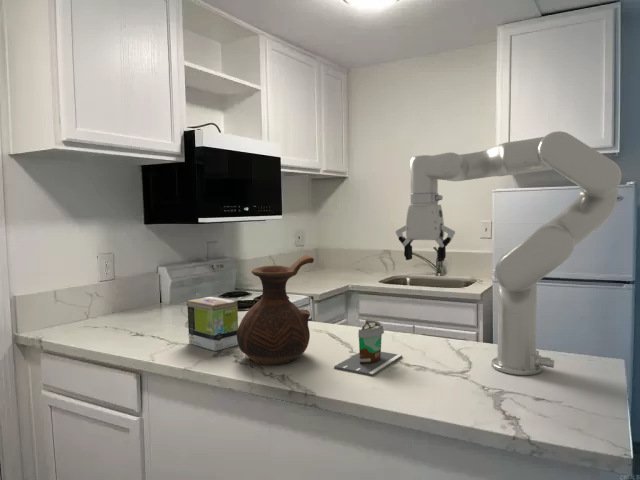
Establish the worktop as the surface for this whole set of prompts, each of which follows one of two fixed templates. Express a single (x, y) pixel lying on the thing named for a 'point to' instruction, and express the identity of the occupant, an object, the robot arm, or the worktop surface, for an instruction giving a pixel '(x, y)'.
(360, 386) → the worktop surface
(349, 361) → the mat
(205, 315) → the tea box
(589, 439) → the worktop surface
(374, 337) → the food container
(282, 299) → the jug
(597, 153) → the robot arm
